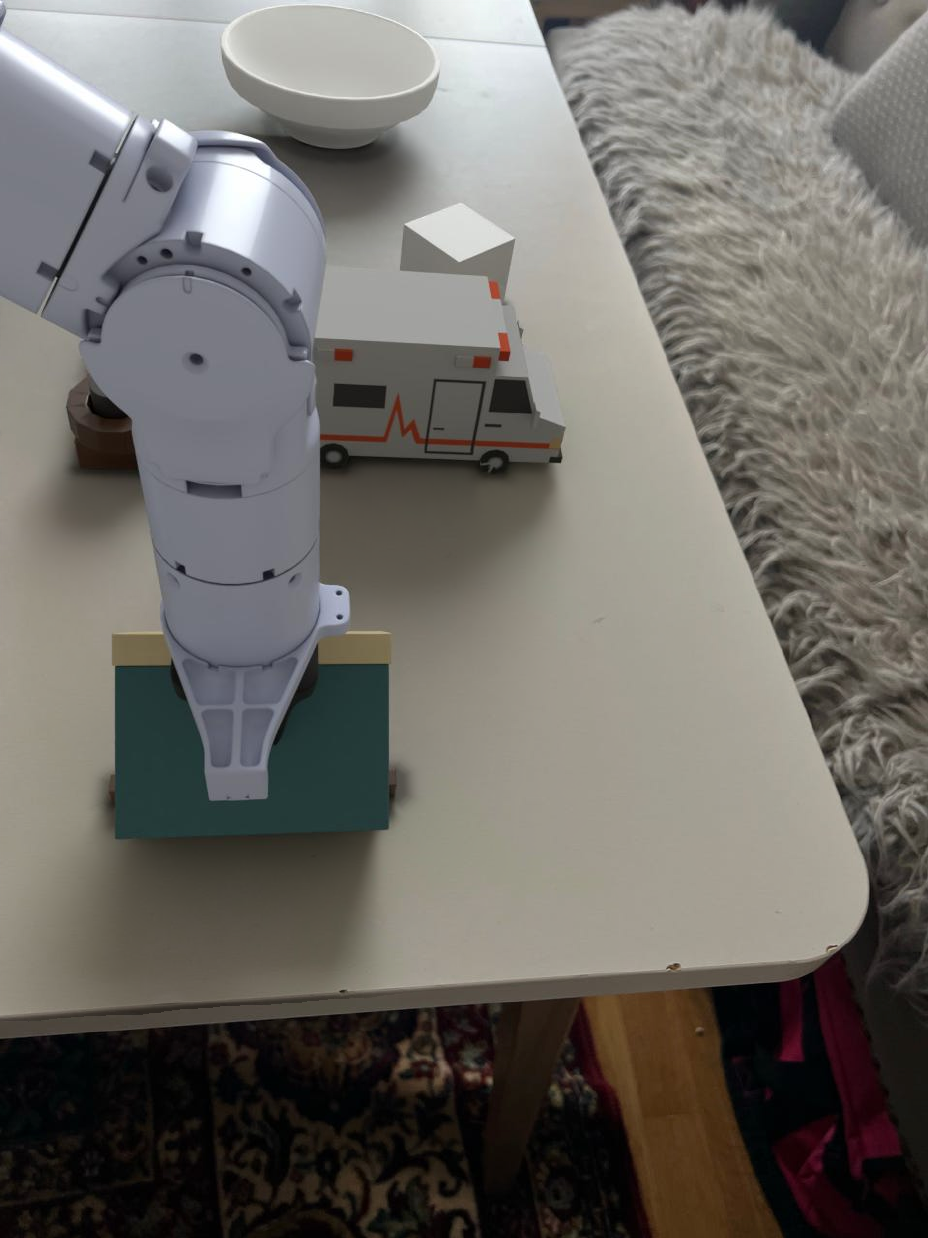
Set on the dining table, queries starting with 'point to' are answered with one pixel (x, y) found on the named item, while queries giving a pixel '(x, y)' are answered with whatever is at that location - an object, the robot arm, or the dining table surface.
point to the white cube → (458, 246)
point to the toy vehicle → (429, 372)
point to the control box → (99, 433)
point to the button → (104, 403)
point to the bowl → (330, 71)
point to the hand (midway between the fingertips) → (255, 736)
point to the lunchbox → (297, 765)
